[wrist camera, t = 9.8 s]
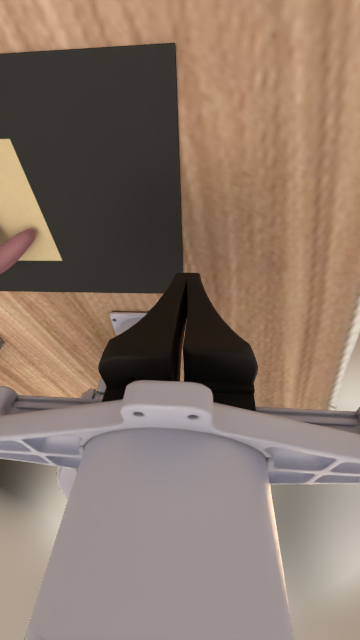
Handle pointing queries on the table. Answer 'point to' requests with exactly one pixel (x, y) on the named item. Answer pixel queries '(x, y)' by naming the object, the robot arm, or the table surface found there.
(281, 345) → the table surface
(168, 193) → the desk mat
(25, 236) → the pink curved piece
